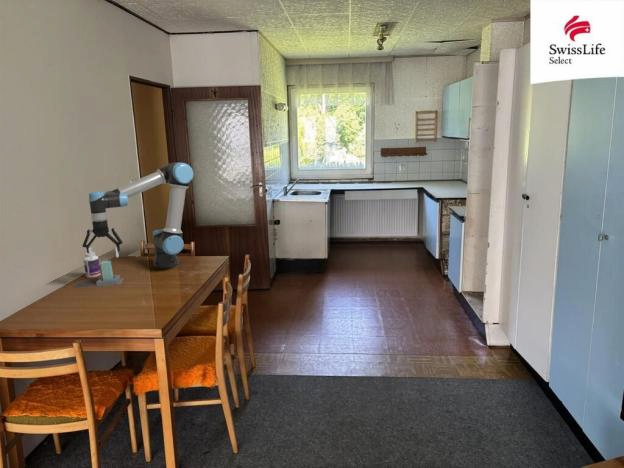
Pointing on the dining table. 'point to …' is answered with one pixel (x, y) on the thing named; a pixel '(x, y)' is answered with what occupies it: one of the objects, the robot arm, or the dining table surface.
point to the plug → (107, 270)
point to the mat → (84, 284)
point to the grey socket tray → (109, 281)
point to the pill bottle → (91, 265)
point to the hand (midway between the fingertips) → (104, 258)
